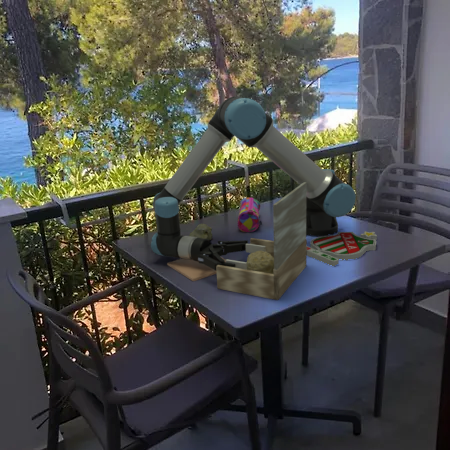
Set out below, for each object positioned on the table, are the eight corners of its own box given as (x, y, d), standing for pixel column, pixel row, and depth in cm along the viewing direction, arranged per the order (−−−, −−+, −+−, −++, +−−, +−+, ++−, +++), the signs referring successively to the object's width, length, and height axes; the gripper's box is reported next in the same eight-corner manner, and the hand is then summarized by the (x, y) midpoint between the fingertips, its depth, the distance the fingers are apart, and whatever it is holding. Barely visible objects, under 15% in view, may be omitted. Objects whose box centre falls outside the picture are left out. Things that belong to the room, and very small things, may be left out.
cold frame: (217, 288, 137) (212, 198, 128) (252, 257, 157) (249, 178, 148) (278, 300, 128) (276, 205, 120) (306, 266, 149) (307, 182, 140)
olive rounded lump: (276, 291, 141) (288, 260, 142) (252, 282, 135) (265, 250, 136) (257, 284, 148) (269, 254, 149) (234, 274, 143) (246, 244, 143)
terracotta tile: (208, 252, 163) (208, 250, 163) (235, 267, 150) (235, 264, 150) (167, 265, 154) (167, 262, 154) (193, 281, 142) (192, 279, 142)
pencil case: (262, 233, 179) (261, 210, 176) (237, 234, 180) (236, 211, 177) (260, 215, 200) (260, 195, 197) (238, 216, 200) (237, 196, 197)
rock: (182, 250, 169) (209, 246, 167) (178, 234, 168) (205, 230, 166) (189, 240, 179) (215, 236, 177) (185, 224, 178) (211, 220, 176)
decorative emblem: (293, 244, 161) (354, 225, 177) (293, 251, 162) (354, 231, 177) (333, 261, 146) (396, 239, 162) (333, 268, 147) (396, 245, 162)
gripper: (214, 246, 163) (272, 255, 153) (174, 275, 142) (238, 287, 132) (213, 225, 160) (271, 233, 150) (172, 252, 139) (237, 262, 130)
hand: (256, 258), depth 141 cm, fingers open, 13 cm apart
